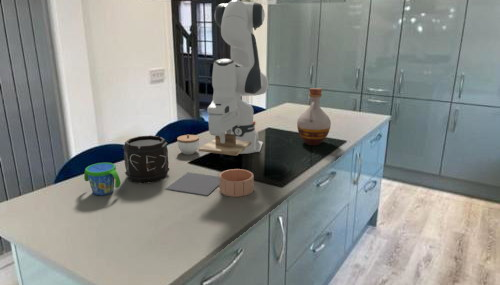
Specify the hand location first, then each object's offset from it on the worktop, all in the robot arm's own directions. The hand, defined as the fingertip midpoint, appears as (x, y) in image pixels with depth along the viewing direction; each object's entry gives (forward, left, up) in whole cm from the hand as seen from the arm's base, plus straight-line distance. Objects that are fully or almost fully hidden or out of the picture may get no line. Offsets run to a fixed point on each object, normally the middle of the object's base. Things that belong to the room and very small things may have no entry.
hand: (225, 141), depth 140 cm
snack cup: (+19, -43, -20) cm, 51 cm away
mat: (0, -13, -19) cm, 23 cm away
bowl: (0, +4, -19) cm, 20 cm away
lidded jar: (-34, -35, -20) cm, 53 cm away
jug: (-70, +21, -20) cm, 76 cm away
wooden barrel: (0, -36, -20) cm, 41 cm away
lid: (0, 0, -3) cm, 2 cm away
